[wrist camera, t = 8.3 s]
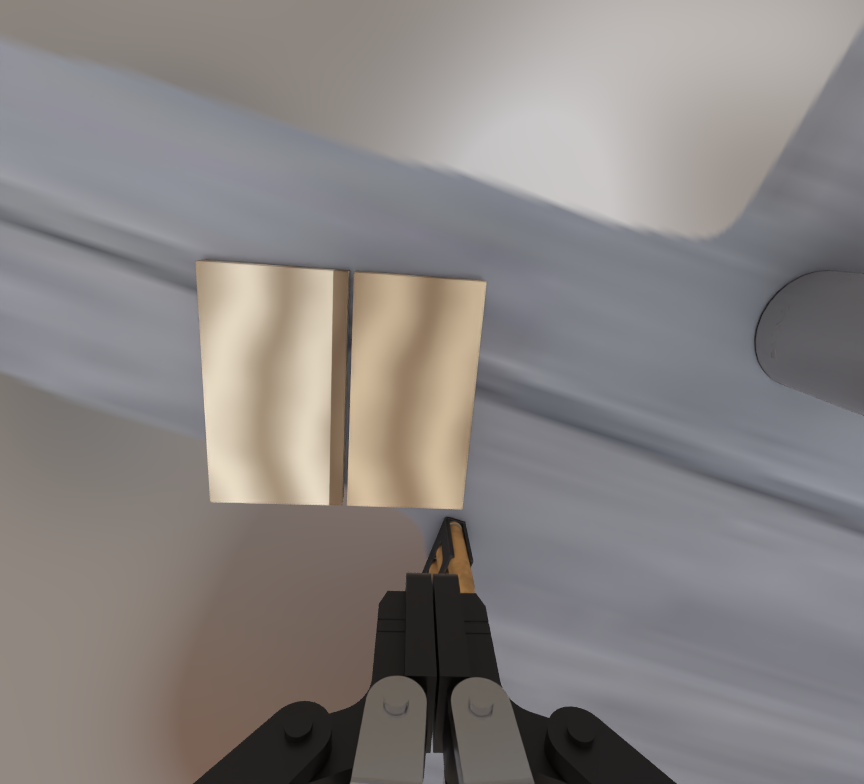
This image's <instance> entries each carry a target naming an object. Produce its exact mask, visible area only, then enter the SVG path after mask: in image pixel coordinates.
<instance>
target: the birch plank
mask: <svg viewBox="0 0 864 784" xmlns="http://www.w3.org/2000/svg"><path fill="white" fill-rule="evenodd" d="M196 277H197V293H198V309H199V326H200V342H201V358H202V375H203V391H204V407H205V423H206V440H207V454H208V455H207V456H208V472H209V488H210V502H226V503H227V502H228V503H229V502H230V503H266V504H267V503H268V504H306V505H307V504H308V505H342V502H343V497H344V463H345V427H346V390H347V354H348V317H349V281H350V270H337V269H323V268H309V267H295V266H281V265H268V264H254V263H240V262H227V261H213V260H198V261H196Z"/></svg>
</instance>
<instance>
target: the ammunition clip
mask: <svg viewBox="0 0 864 784" xmlns="http://www.w3.org/2000/svg"><path fill="white" fill-rule="evenodd" d="M472 563H473V557H472V553H471V548H470V543H469V538H468V534H467V529H466V524H465V522H462V521H459V520H455V519H451V518H448V517H446V518H445V519H444V521H443V523H442V526H441V528H440V531H439V533H438V536H437V538H436V540H435V543H434V545H433V548H432V550H431V553H430V555H429V557H428V560H427V562H426V565H425V567H424V570H423V572H422V573H431V577H432V576H433V573H436V574H458V578H459V585H460V593H474V588H475V586H474V581H473V576H472V572H471V566H472Z"/></svg>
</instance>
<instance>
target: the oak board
mask: <svg viewBox="0 0 864 784" xmlns="http://www.w3.org/2000/svg"><path fill="white" fill-rule="evenodd" d="M486 283H487V282H485V281H483V280H472V279H458V278H445V277H431V276H418V275H404V274H391V273H377V272H364V271H355V272H354V290H353V324H352V357H351V391H350V424H349V458H348V491H347V505H348V506H377V507H378V506H379V507H407V508H437V509H462V507H463V498H464V488H465V479H466V470H467V460H468V451H469V442H470V432H471V423H472V414H473V404H474V395H475V386H476V376H477V367H478V358H479V348H480V339H481V330H482V320H483V311H484V302H485V292H486Z"/></svg>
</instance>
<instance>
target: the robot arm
mask: <svg viewBox="0 0 864 784" xmlns="http://www.w3.org/2000/svg"><path fill="white" fill-rule="evenodd" d="M756 353H757V356H758V360H759V363H760V364H761V366H762V368H763V370H764V371H765V372H766V373H767V374H768V375H769V376H770V377H771V378H772V379H773V380H775V381H777V382H778V383H780V384H783V385H785V386H788V387H790V388H793V389H796V390H798V391H801V392H803V393H806V394H809V395H811V396H814V397H816V398H819V399H821V400H824V401H826V402H829V403H831V404H834V405H837V406H839V407H842V408H844V409H847V410H850V411H852V412H855V413H858V414H860V415H863V416H864V274H862V273H849V272H835V271H820V272H813V273H810V274H808V275H805V276H802V277H800V278H798V279H796V280H795V281H793V282H791V283H789V284H788V285H787V286H786V287H784V288H783V289H782V290H781V291H780V292H779V293H778V294H777V295H776V296H775V297H774V298H773V300H772V301H771V302H770V303H769V305H768V306H767V308H766V310H765V311H764V313H763V315H762V317H761V320H760V323H759V325H758V329H757V335H756ZM432 735H433V753H443V759H444V776H443V784H676V783H675V782H674V781H673V780H672V779H670V778H669V777H668V776H667V775H666V774H664V773H663V772H662V771H661V770H660V769H658V768H657V767H656V766H655V765H654V764H652V763H651V762H650V761H649V760H648V759H646V758H645V757H644V756H643V755H642V754H640V753H639V752H638V751H637V750H636V749H634V748H633V747H632V746H631V745H630V744H628V743H627V742H626V741H625V740H624V739H622V738H621V737H620V736H619V735H618V734H617V733H615V732H614V731H613V730H612V729H611V728H609V727H608V726H607V725H606V724H605V723H603V722H602V721H601V720H600V719H599V718H597V717H596V716H595V715H593V714H592V713H590V712H588V711H586V710H584V709H581V708H577V707H563V708H560V709H557V710H556V711H555V712H553V713H552V715H551V716H550V718H547V717H544V716H541V715H538V714H535V713H532V712H529V711H527V710H525V709H523V708H521V707H519V706H518V705H516V704H515V703H514V702H513V701H512V700H510V698H509V697H508V695H507V693H506V692H505V691H504V689H503V688H502V686H501V682H500V678H499V673H498V668H497V663H496V658H495V653H494V647H493V642H492V637H491V632H490V627H489V624H488V617H487V612H486V606H485V605H484V604H483V602H482V601H481V600H480V598H479V597H478V596H477V594H476V593H460V585H459V578H458V574H436V573H433V576H432V577H431V573H407V574H406V590H405V591H387V593H386V594H385V596H384V597H383V599H382V600H381V602H380V603H379V610H378V621H377V633H376V642H375V653H374V663H373V674H372V682H371V685H370V688H369V690H368V692H367V693H366V694H365V696H364V697H363V698H362V699H361V700H360V701H359V702H357V703H356V704H354V705H353V706H351V707H349V708H346V709H343V710H340V711H337V712H333V713H330V714H329V713H328V712H327V710H326V709H325V708H324V707H322V706H321V705H319V704H317V703H315V702H310V701H300V702H295V703H292V704H289V705H287V706H285V707H283V708H282V709H281V710H279V711H278V712H277V713H275V714H274V715H273V716H272V717H271V718H270V719H268V720H267V721H266V722H265V723H264V724H263V725H261V726H260V727H259V728H258V729H257V730H255V731H254V732H253V733H252V734H251V735H250V736H249V737H247V738H246V739H245V740H244V741H243V742H241V744H239V745H238V746H237V747H236V748H234V749H233V750H232V751H231V752H230V753H229V754H227V755H226V756H225V757H224V758H223V759H222V760H220V761H219V762H218V763H217V764H216V765H215V766H214V767H212V768H211V769H210V770H209V771H208V772H206V773H205V774H204V775H203V776H202V777H201V778H199V779H198V780H197V781H196V782H195V783H193V784H422V782H423V778H424V768H425V756H426V753H430V751H431V740H432Z"/></svg>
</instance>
